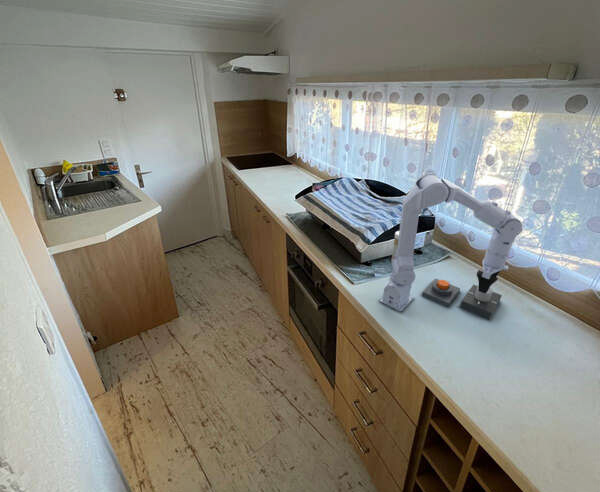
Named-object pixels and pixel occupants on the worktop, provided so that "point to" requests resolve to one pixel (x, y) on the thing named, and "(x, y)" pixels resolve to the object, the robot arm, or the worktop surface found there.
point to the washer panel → (480, 303)
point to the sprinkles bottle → (395, 244)
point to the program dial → (483, 295)
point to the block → (441, 293)
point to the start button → (443, 284)
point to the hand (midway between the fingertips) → (485, 286)
